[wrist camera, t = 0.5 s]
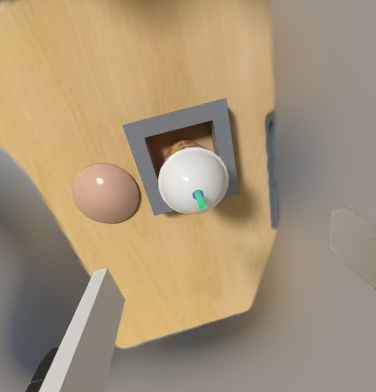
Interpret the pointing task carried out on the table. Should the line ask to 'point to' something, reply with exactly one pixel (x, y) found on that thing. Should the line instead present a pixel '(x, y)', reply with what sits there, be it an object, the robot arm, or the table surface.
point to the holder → (172, 121)
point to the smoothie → (192, 178)
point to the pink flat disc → (105, 193)
